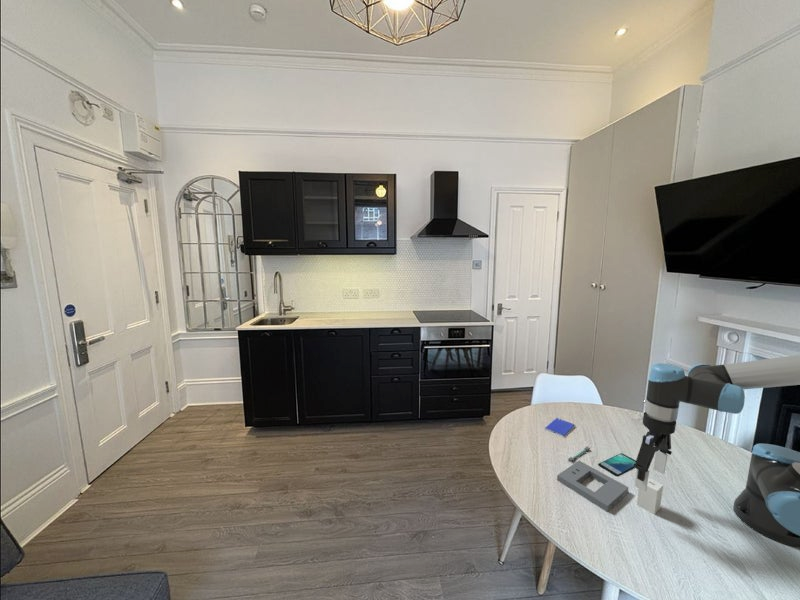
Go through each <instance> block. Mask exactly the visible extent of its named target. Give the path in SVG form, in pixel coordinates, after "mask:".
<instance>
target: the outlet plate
mask: <svg viewBox="0 0 800 600" xmlns="http://www.w3.org/2000/svg"><path fill="white" fill-rule="evenodd" d="M556 477H557V478H556V481H558V482H559V483H561V484H562V485H564V486H566V487H567V488H569V489H570V490H572V491H573V492H575V493H576V494H578V495H580V496H581V497H583V498H584V499H586V500H588V501H589V502H591V503H592V504H594V505H596V506H597V507H598V508H601V509H602V510H603V511H605V512H609V511H610V510H611V509H612V508H613V507H614V506H615V505H616V504H618V503H619V502H620V500H621V499H623V498H624V497H625V496H626V495H627V494H629V486H627V485H626V484H623V483H622V482H619V481H618V480H616V479H614V478H612V477H610V476H608V475H607V474H604V473H603V472H602V471H600V470H597V469H596V468H594V467H592V466H590V465H588V464H586V463H585V462H583V461H581V460H577V461H576V462H574V463H573V464H571V465H570V466H569V467H567V468H566V469H564V470H562V471H561V472H559V473H558V474H557V476H556ZM588 477H590V478H591V479H594V480H596V481H597V482H599V483H600V484H603V485H602V486H600V487H599V488H597V490H595V491H593V490H592V489H590V488H589V487H586V486H585V485H583V484H582V482H583V481H584V480H586V479H587V478H588Z"/></svg>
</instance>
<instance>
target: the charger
mask: <svg viewBox="0 0 800 600" xmlns="http://www.w3.org/2000/svg"><path fill="white" fill-rule="evenodd" d="M663 489H664V484H662V483H660V482H659V481H656V480H655V479H652V478H651V477H648V483H647V490H646V492H645V491H643V490H641V489H639V488H638V491H637V492H638V493H637V501H636V505H637V506H638V507H640V508H642V509H644V510H645V511H647V512H648V513H651V514H652V515H656V513H657V512H659V510H660V509H661V504H662V496H663V492H664V491H663Z"/></svg>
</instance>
